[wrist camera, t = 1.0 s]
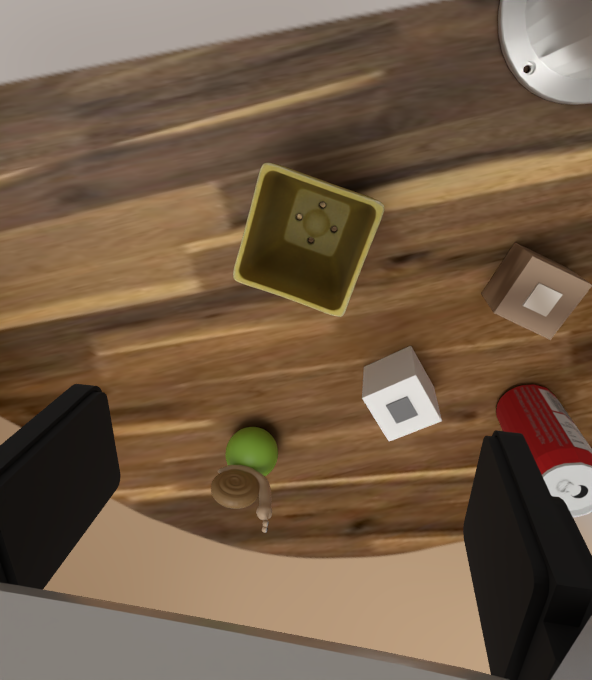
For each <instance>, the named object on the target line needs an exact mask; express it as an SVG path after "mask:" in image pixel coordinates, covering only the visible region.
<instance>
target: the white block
mask: <svg viewBox="0 0 592 680" xmlns="http://www.w3.org/2000/svg"><path fill="white" fill-rule="evenodd" d="M362 399H363V400H364V402H365V403H366V405H367V407H368V408H369V410H370V412H371V413H372V415H373V417H374V418H375V420H376V421H377V423H378V425H379V426H380V428H381V430H382V431H383V433H384V434H385V436H386V438H387V439H388V441H392V440H394V439H397V438H399V437H402V436H405V435H407V434H410V433H412V432H415V431H417V430H420V429H423V428H425V427H428V426H430V425H433V424H436V423H438V422H441V421H442V420H441V416H440V411H439V407H438V402H437V398H436V393H435V389H434V386H433V384H432V382H431V381H430V379H429V377H428V375H427V373H426V372H425V370H424V368H423V366H422V364H421V363H420V361H419V359H418V357H417V355H416V354H415V352H414V350H413V348H412V346H409V347H407V348H404V349H402V350H400V351H398V352H396V353H393V354H391V355H389V356H387V357H385V358H382V359H380V360H378V361H376V362H374V363H371V364H369V365H367V366H365V367H364V374H363V392H362Z"/></svg>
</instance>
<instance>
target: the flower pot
mask: <svg viewBox="0 0 592 680" xmlns="http://www.w3.org/2000/svg"><path fill="white" fill-rule="evenodd" d="M321 202H325V203H326V207H325V208H320V205H319V204H320V203H321ZM383 213H384V205H383V204H382V203H381V202H379V201H377V200H375V199H373V198H371V197H369V196H366V195H363V194H360V193H357V192H354V191H351V190H348V189H345V188H342V187H339V186H337V185H334V184H331V183H328V182H326V181H323V180H320V179H317V178H315V177H312V176H309V175H306V174H304V173H301V172H298V171H295V170H293V169H290V168H287V167H284V166H281V165H277V164H273V163H265V164H263V165H262V167H261V169H260V172H259V176H258V180H257V184H256V188H255V192H254V196H253V200H252V204H251V208H250V212H249V216H248V219H247V223H246V227H245V231H244V234H243V238H242V242H241V245H240V249H239V252H238V256H237V259H236V263H235V267H234V272H233V276H234V279H235V280H236V281H237V282H240V283H242V284H245V285H248V286H251V287H255V288H258V289H261V290H264V291H267V292H270V293H273V294H276V295H279V296H282V297H285V298H287V299H290V300H293V301H296V302H298V303H301V304H303V305H306V306H309V307H311V308H314V309H317V310H319V311H322V312H324V313H327V314H330V315H333V316H338V317H341V316H343V314H344V313H345V310H346V308H347V305H348V302H349V300H350V297H351V294H352V292H353V289H354V287H355V284H356V281H357V279H358V276H359V274H360V271H361V269H362V266H363V264H364V261H365V259H366V256H367V254H368V251H369V248H370V246H371V243H372V241H373V238H374V236H375V234H376V231H377V228H378V226H379V224H380V221H381V219H382V216H383ZM297 214H301V215H302V219H301V220H297V218H296V216H297ZM332 226H336V227H337V231H336V232H332V231H331V227H332ZM309 237H312V238H313V239H314V242H313V243H309V242H308V238H309Z"/></svg>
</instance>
